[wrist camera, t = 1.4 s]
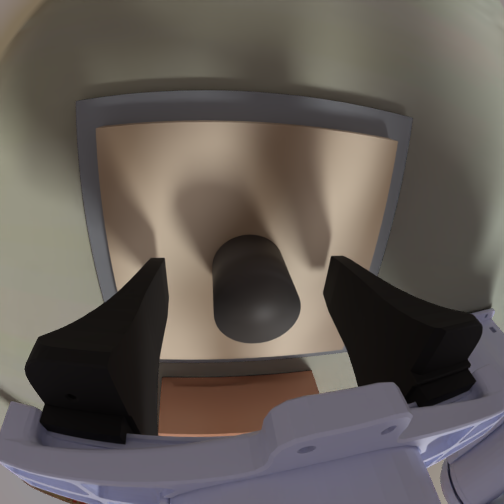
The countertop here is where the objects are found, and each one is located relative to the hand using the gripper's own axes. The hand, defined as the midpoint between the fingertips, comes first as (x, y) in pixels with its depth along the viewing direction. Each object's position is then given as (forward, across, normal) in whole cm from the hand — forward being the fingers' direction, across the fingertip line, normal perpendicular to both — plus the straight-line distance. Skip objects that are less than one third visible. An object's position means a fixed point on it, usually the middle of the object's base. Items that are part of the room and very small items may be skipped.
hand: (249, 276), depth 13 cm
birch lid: (+2, 0, 0) cm, 2 cm away
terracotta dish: (+2, 0, +15) cm, 15 cm away
